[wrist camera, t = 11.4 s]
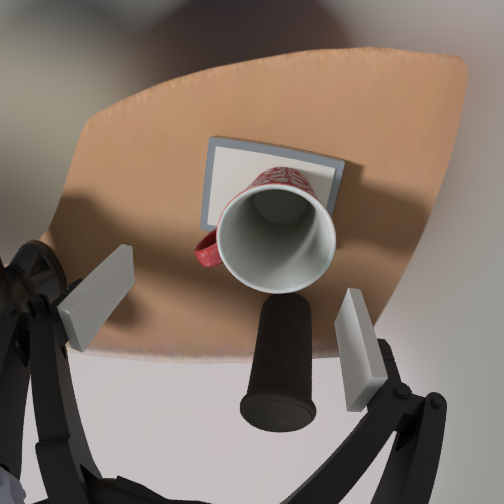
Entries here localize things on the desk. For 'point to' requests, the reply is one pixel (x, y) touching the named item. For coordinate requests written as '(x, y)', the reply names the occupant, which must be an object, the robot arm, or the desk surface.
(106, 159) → the desk surface
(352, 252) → the desk surface
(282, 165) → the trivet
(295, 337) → the container
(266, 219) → the mug
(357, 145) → the desk surface
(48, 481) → the robot arm
